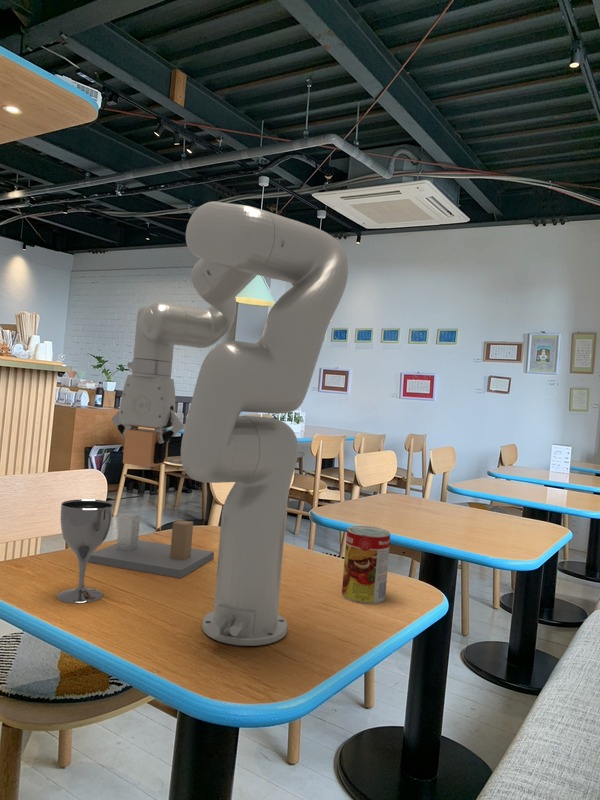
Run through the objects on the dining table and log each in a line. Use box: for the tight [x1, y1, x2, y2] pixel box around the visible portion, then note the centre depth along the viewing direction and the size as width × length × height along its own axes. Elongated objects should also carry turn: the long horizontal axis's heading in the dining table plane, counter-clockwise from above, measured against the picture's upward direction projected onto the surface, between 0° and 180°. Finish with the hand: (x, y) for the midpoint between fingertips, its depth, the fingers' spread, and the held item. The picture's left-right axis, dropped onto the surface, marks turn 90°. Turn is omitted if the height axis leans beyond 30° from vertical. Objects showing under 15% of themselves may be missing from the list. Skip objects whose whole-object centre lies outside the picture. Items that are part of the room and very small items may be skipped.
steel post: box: [116, 512, 141, 551], centre depth 120 cm, size 3×3×7 cm
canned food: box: [341, 525, 391, 605], centre depth 107 cm, size 8×8×12 cm
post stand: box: [87, 519, 215, 579], centre depth 118 cm, size 15×20×8 cm
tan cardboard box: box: [122, 427, 165, 468], centre depth 116 cm, size 6×6×7 cm
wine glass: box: [56, 498, 114, 604], centre depth 96 cm, size 8×8×15 cm
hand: (143, 460), depth 116 cm, fingers closed on tan cardboard box, 5 cm apart
